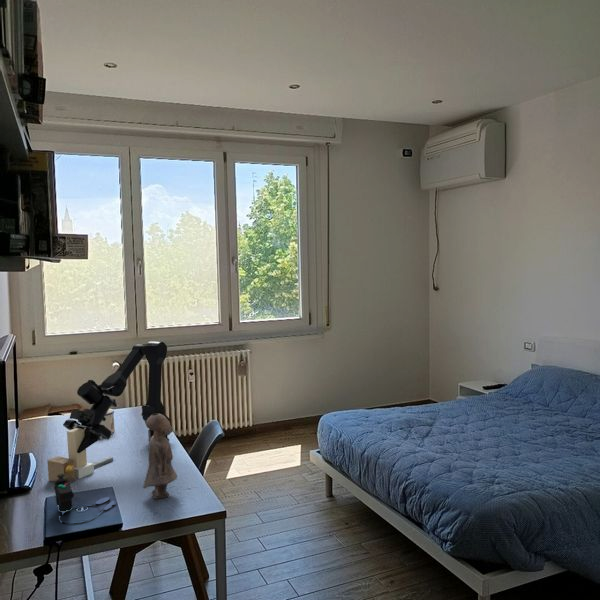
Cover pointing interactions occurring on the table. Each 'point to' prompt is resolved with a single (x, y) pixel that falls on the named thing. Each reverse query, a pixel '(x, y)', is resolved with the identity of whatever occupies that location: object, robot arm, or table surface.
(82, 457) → the cream block on base
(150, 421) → the clay figurine
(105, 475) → the table surface
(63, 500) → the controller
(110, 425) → the teacup with lid
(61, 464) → the brown block with rod
